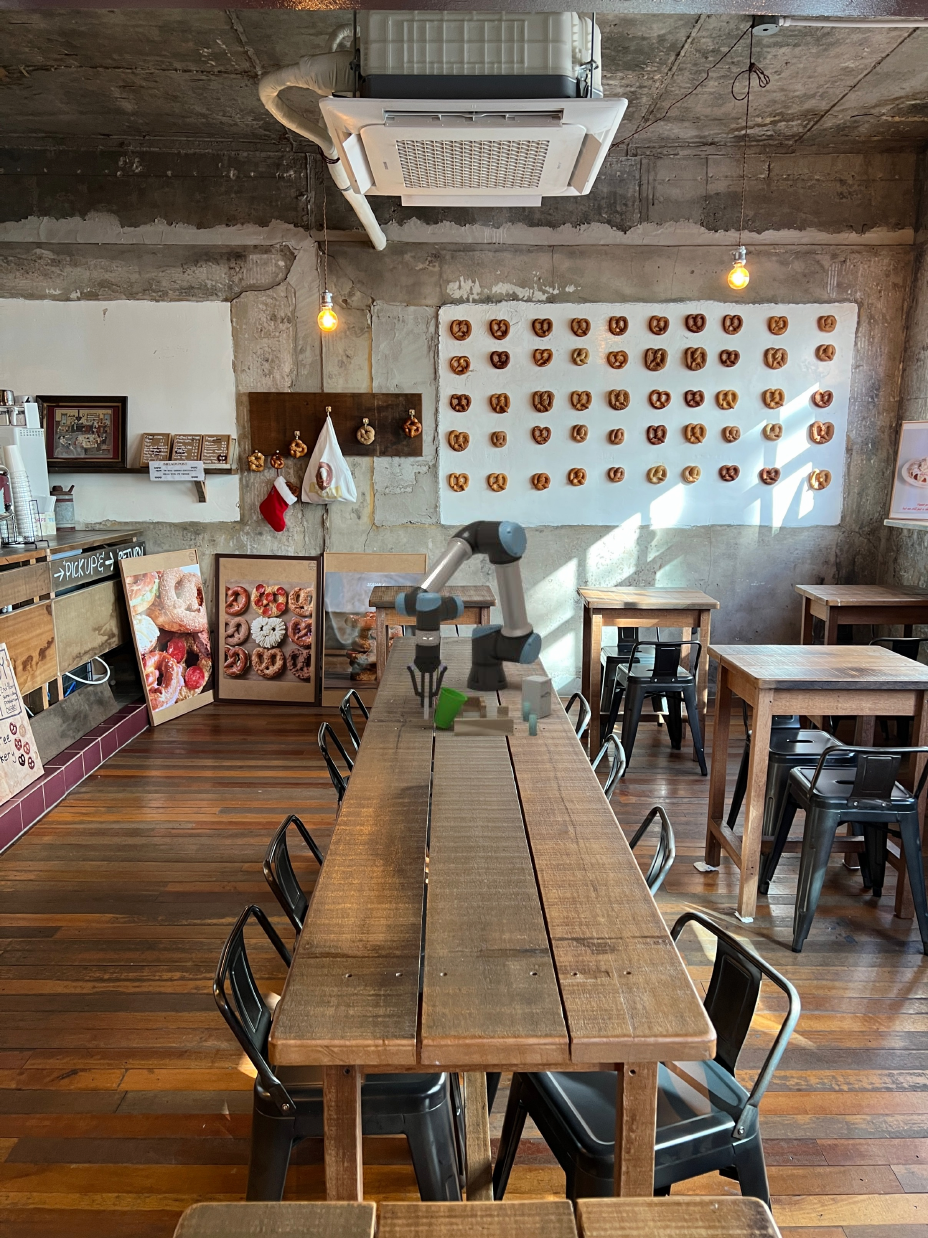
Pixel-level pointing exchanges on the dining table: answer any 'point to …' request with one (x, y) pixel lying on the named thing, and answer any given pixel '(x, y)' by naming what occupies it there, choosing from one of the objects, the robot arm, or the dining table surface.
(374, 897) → the dining table surface
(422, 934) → the dining table surface
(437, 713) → the cup
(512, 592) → the robot arm
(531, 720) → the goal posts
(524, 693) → the supplement box
